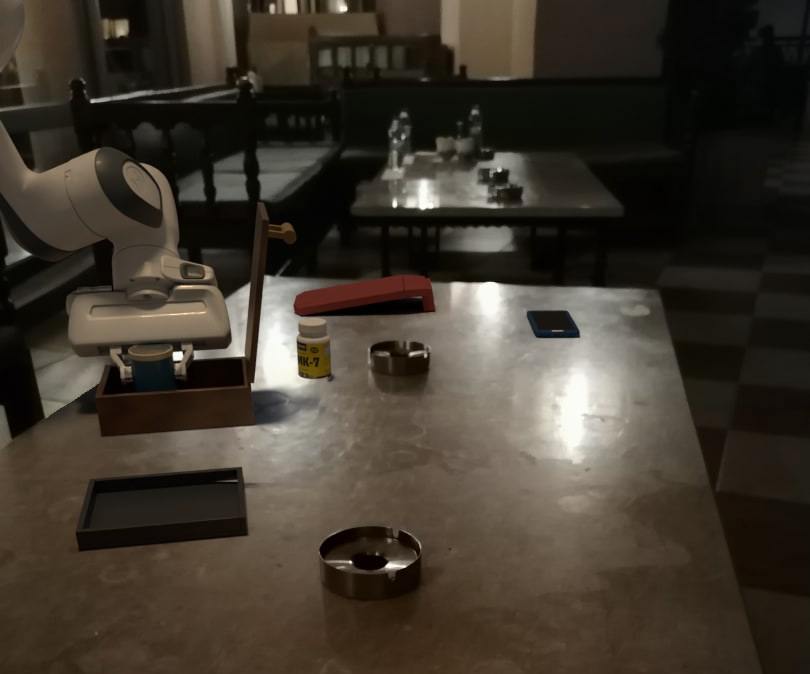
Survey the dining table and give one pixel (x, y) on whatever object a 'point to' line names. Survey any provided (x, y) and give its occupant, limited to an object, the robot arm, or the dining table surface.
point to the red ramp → (365, 294)
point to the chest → (178, 400)
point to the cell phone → (552, 323)
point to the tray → (162, 508)
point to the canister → (152, 367)
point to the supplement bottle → (313, 349)
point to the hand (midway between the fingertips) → (154, 380)
